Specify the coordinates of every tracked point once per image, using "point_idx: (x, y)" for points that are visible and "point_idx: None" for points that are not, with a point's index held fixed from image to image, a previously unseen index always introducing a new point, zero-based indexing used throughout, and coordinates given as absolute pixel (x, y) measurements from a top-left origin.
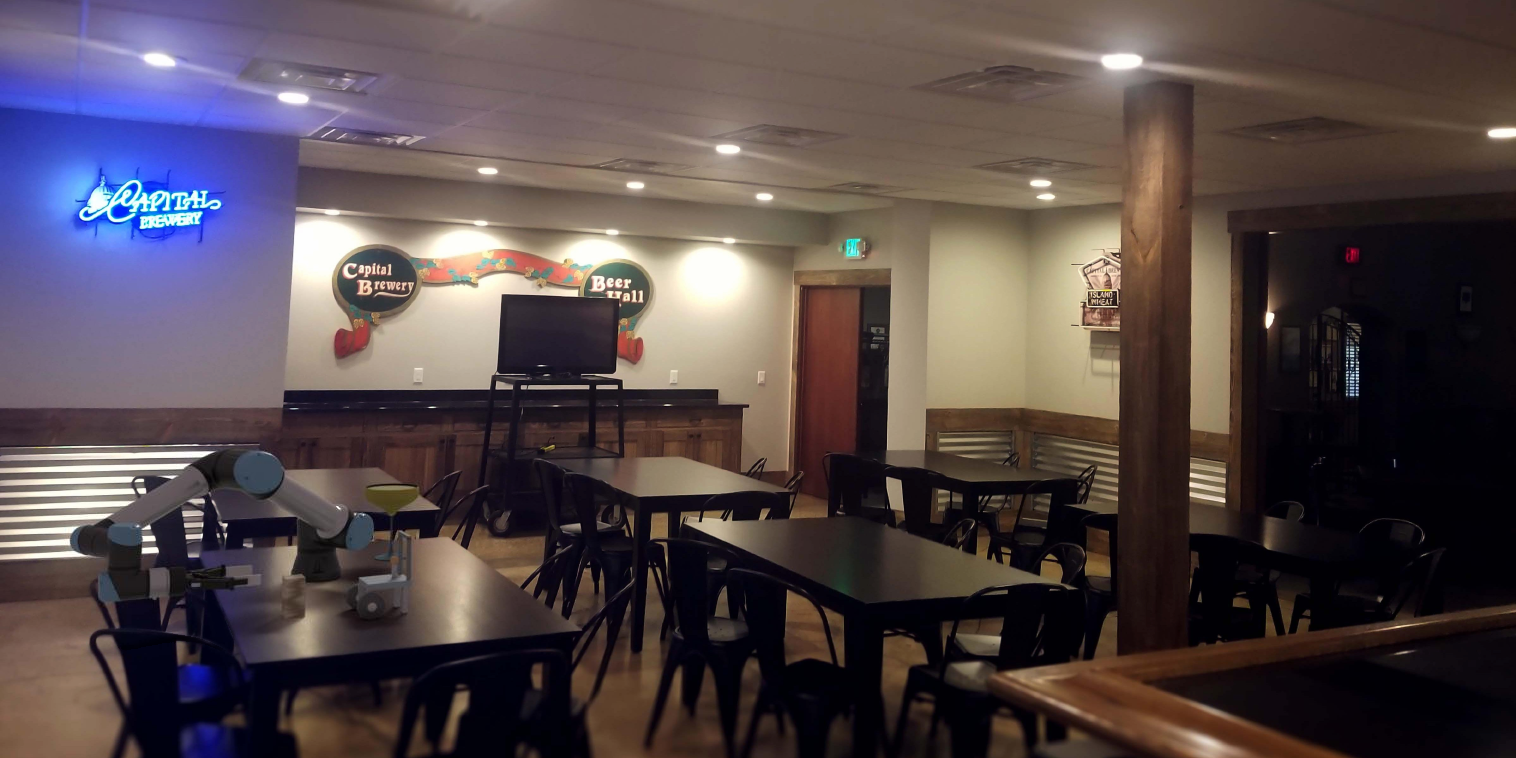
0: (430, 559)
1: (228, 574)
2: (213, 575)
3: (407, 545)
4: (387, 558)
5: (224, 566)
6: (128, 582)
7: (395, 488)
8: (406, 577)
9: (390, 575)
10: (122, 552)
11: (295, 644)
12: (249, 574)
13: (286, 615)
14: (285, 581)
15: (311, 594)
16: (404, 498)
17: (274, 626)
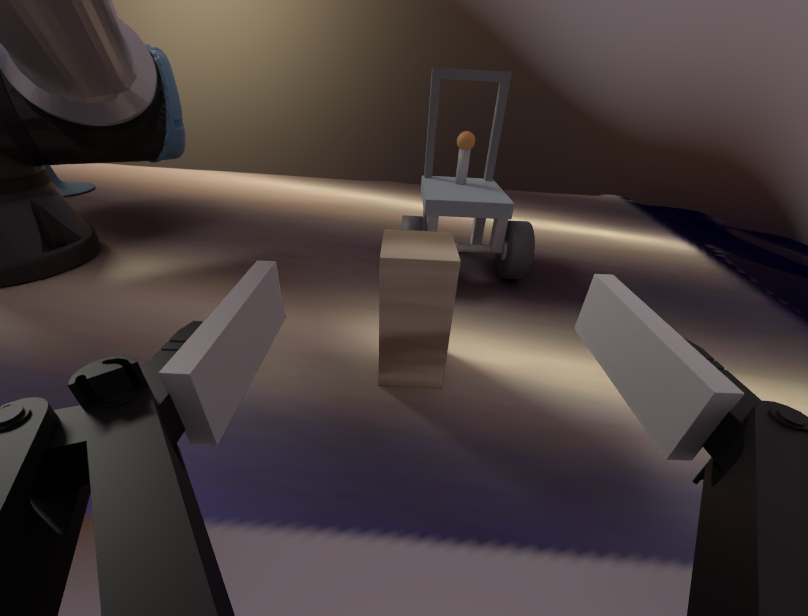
0: (144, 179)
1: (221, 412)
2: (212, 567)
3: (505, 97)
4: (67, 191)
5: (141, 379)
6: None
7: None
8: (488, 175)
9: (433, 182)
10: None
11: None
12: (280, 321)
13: (442, 376)
14: (449, 270)
15: (189, 295)
16: None
17: (534, 432)
